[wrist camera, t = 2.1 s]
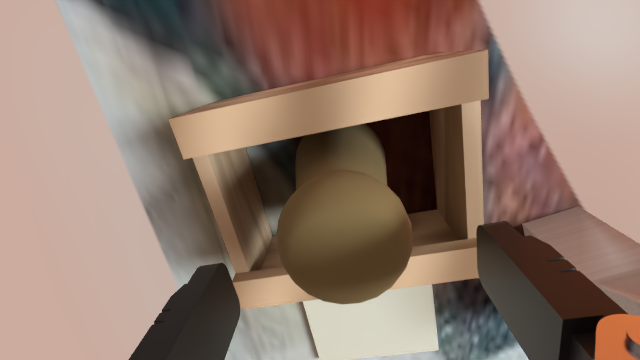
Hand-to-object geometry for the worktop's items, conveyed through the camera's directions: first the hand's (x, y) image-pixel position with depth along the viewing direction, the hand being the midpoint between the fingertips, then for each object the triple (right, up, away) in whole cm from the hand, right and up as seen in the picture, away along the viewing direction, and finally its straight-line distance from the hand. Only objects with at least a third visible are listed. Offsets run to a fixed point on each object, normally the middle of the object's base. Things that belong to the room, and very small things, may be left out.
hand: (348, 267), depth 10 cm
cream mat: (+3, -7, +15) cm, 17 cm away
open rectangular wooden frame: (0, +4, +11) cm, 12 cm away
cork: (0, +4, +11) cm, 12 cm away
